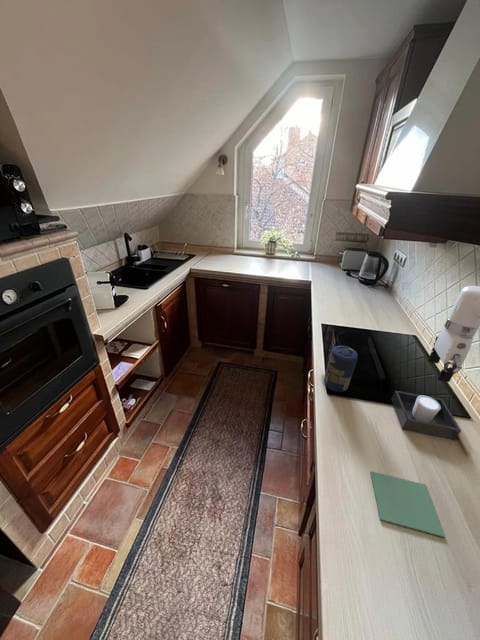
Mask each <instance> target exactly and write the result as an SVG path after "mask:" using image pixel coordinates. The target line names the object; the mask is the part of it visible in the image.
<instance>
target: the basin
mask: <svg viewBox="0 0 480 640" xmlns="http://www.w3.org/2000/svg"><path fill="white" fill-rule="evenodd" d="M420 395H421V394H417V393H412V392H405V391H400V390H394V392H393V395H392V397H391V400H392V401H391V400H390V401H391V403H392V402H393V403H392V407H393V408H394V411H395V414H396V417H397V420H398V423H399V425H400V428H401V430H404V431H408V432H412V433H418V434H422V435H427V436H431V437H437V438H442V439H446V440H452V441H455V440H456V439H457V437H458V436H459V435H460V433H461V432H462V429H461V427H460V426H459V425H458V423H457V421H456V420H455V418H454V416H453V414H452V413H451V411H450V409H449V408H448V405H447V404H446V402H445V401H444V399H443V398H439V397H434V396H428V395H427V396H428V397H431V398H433V399H434V400H436V401H437V402H438V403H439V404H440V406H441V409H440V410H439V411H438V413H437V414H436V415H435V416H434V418H433V419H432V420H431V421H430V422H424V421H419V420H416V419H415V418H414V417H413V415H412V411H413V408H414V405H415V402H416V399H417V397H418V396H420Z"/></svg>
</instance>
